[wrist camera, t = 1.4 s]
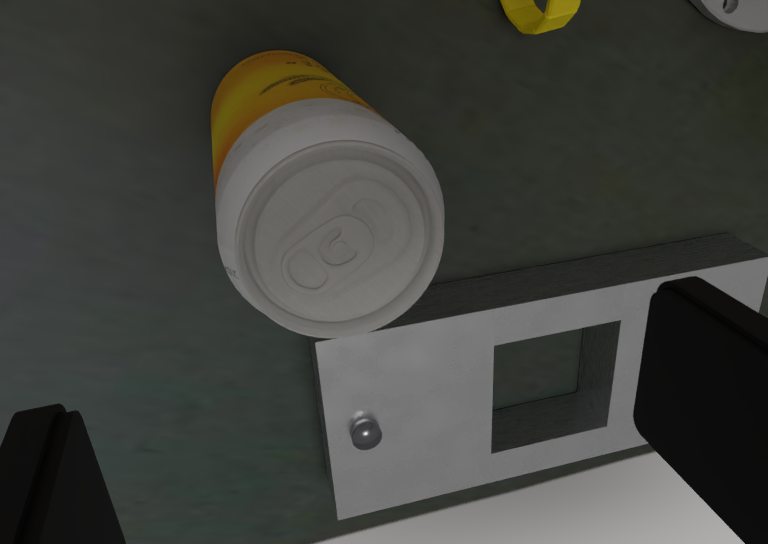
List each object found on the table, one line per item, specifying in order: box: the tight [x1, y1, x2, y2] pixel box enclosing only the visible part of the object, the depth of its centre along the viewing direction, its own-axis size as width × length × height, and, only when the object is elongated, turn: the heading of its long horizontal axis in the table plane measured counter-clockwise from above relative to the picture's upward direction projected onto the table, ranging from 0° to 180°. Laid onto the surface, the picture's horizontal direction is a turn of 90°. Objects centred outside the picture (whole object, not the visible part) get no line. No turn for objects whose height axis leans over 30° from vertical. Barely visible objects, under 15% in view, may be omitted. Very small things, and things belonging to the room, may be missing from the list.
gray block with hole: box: [309, 233, 768, 520], centre depth 37 cm, size 26×12×4 cm, turn 93°
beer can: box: [211, 50, 445, 338], centre depth 22 cm, size 6×6×15 cm
